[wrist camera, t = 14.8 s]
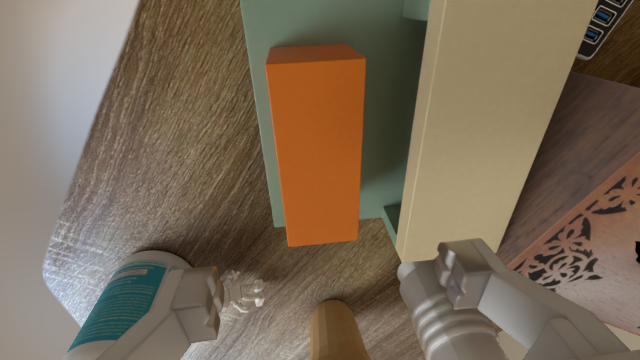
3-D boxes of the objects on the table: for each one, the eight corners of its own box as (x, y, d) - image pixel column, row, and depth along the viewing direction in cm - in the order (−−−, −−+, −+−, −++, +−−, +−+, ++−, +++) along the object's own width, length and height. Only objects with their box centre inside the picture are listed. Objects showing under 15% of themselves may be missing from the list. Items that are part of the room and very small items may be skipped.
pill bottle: (110, 280, 31) (7, 448, 19) (136, 235, 28) (34, 400, 16) (180, 302, 34) (126, 459, 22) (209, 263, 31) (166, 419, 19)
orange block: (269, 47, 17) (264, 63, 13) (346, 43, 17) (366, 58, 13) (287, 201, 23) (288, 247, 18) (344, 195, 23) (358, 240, 19)
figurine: (233, 292, 41) (175, 303, 37) (262, 263, 32) (190, 272, 28) (238, 328, 39) (176, 343, 35) (269, 305, 30) (193, 322, 26)
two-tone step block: (275, 199, 27) (272, 277, 20) (247, -1, 19) (222, -1, 11) (440, 185, 28) (496, 253, 21) (483, -11, 20) (606, -16, 12)
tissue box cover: (429, 199, 29) (488, 280, 21) (545, 64, 23) (696, 102, 15) (577, 266, 38) (662, 343, 29) (690, 181, 32) (838, 247, 23)
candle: (454, 275, 36) (546, 425, 24) (401, 294, 37) (462, 448, 24) (444, 240, 33) (546, 393, 20) (386, 262, 34) (448, 422, 21)
